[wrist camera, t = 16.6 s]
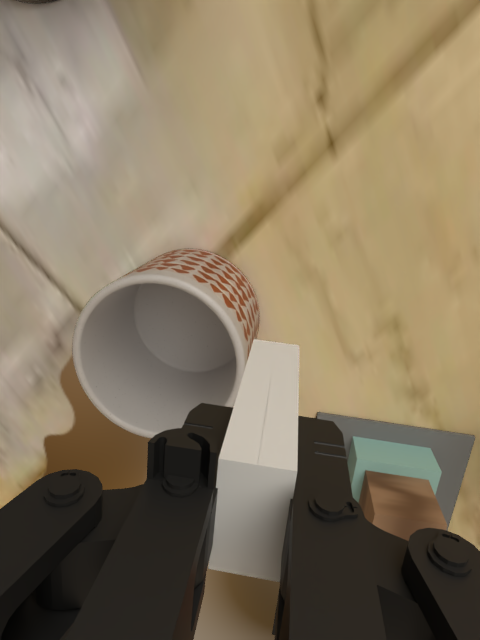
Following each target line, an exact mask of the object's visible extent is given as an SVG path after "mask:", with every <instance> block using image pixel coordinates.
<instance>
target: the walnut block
mask: <svg viewBox="0 0 480 640" xmlns="http://www.w3.org/2000/svg"><path fill="white" fill-rule="evenodd" d="M359 504H360V506H361V508H362V511H363V513H364V516H365V518H366V519H367V520H368V521H369V522H371V523H372V524H373V525H375V526H376V527H378V528H380V529H382V530H384V531H386V532H388V533H390V534H393V535H395V536H398V537H400V538H402V539H405V540H407V541H409V538H410V535H412V534H413V533H414V532H415V531H416V530H418V529H424V528H436V529H443V530H446V529H447V523H446V521H445V518H444V516H443V514H442V511H441V509H440V506H439V504H438V502H437V499H436V497H435V494H434V492H433V489H432V487H431V485H430V482H429V480H426V479H420V478H413V477H407V476H400V475H394V474H387V473H381V472H375V471H368V470H365V475H364V480H363V484H362V489H361V494H360V499H359Z"/></svg>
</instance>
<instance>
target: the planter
mask: <svg viewBox="0 0 480 640" xmlns="http://www.w3.org/2000/svg"><path fill="white" fill-rule="evenodd" d="M259 321H260V315H259V306H258V302H257V298H256V295H255V293H254V290H253V288H252V286H251V285H250V283H249V281H248V280H247V278H246V277H245V276H244V275H243V273H242V272H241V271H240V270H239V269H238V268H237V267H236V266H234V265H233V264H232V263H231V262H229V261H228V260H226V259H224V258H223V257H221V256H219V255H216V254H214V253H211V252H208V251H204V250H199V249H180V250H174V251H171V252H167V253H165V254H163V255H160V256H158V257H156V258H155V259H153V260H151V261H149V262H148V263H146V264H144V265H142V266H140V267H139V268H137V269H135V270H133V271H131V272H130V273H128V274H126V275H124V276H122V277H121V278H119V279H117V280H115V281H113V282H112V283H110V284H108V285H107V286H105V287H104V288H102V289H101V290H100V291H98V292H97V293H96V294H95V295H94V296H93V297H92V298H91V299H90V300H89V301H88V303H87V304H86V305H85V307H84V308H83V310H82V312H81V313H80V316H79V318H78V320H77V323H76V326H75V329H74V334H73V342H72V354H73V362H74V367H75V370H76V374H77V377H78V379H79V382H80V384H81V386H82V388H83V390H84V391H85V393H86V395H87V396H88V398H89V399H90V401H91V402H92V403H93V405H95V407H96V408H97V409H98V410H99V411H100V412H101V413H102V414H103V415H104V416H105V417H106V418H108V419H109V420H110V421H112V422H113V423H115V424H116V425H118V426H120V427H121V428H123V429H125V430H127V431H129V432H131V433H134V434H136V435H139V436H143V437H146V438H151V439H152V438H153V437H154V436H155V435H156V434H158V433H161V432H163V431H165V430H170V429H176V428H182V426H183V425H184V422H185V420H186V418H187V415H188V413H189V411H191V410H192V409H193V408H195V407H196V406H198V405H199V404H201V403H206V404H213V405H219V406H226V407H233V406H234V404H235V401H236V398H237V394H238V391H239V388H240V384H241V381H242V377H243V374H244V371H245V367H246V364H247V360H248V357H249V354H250V350H251V347H252V343H253V340H254V339H256V338H257V334H258V329H259Z"/></svg>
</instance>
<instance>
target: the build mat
mask: <svg viewBox="0 0 480 640" xmlns="http://www.w3.org/2000/svg"><path fill="white" fill-rule="evenodd" d="M316 419H322V420H329V421H333V422H334V423H335V424H336V425H337V427H338V428H339V429H340V430H341V432H342V433H343V438H344V444H345V447H344V448H345V451H346V459H347V462H348V457H349V453H350V448H351V443H352V438H353V436H355V437H361V438H368V439H374V440H381V441H387V442H394V443H400V444H407V445H413V446H420V447H426V448H431V450H432V452H433V455H434V457H435V459H436V461H437V463H438V465H439V467H440V469H441V471H442V473H441V477H440V480H439V484H438V487H437V491H436V494H435V497H436V499H437V502H438V504H439V506H440V509H441V511H442V514H443V516H444V518H445V521H446V523H447V529H446V531H447V530H448V526H449V523H450V520H451V516H452V513H453V510H454V506H455V503H456V500H457V497H458V493H459V490H460V487H461V483H462V480H463V477H464V473H465V470H466V467H467V463H468V460H469V457H470V454H471V450H472V447H473V444H474V440H475V436H474V435H468V434H461V433H455V432H448V431H441V430H434V429H428V428H421V427H414V426H408V425H401V424H394V423H388V422H381V421H374V420H368V419H361V418H354V417H347V416H341V415H334V414H327V413H321V412H317V418H316Z"/></svg>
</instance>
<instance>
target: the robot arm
mask: <svg viewBox="0 0 480 640" xmlns="http://www.w3.org/2000/svg"><path fill="white" fill-rule="evenodd" d="M17 1H20V2H25V3H48V2H52V1H56V0H17ZM298 401H299V345H294V344H286V343H279V342H272V341H264V340H257V339H254V340H253V343H252V347H251V350H250V354H249V357H248V360H247V364H246V367H245V371H244V374H243V377H242V381H241V384H240V388H239V391H238V394H237V398H236V401H235V404H234V408H233V407H226V406H219V405H213V404H206V403H201V404H199V405H198V406H196V407H195V408H193V409H192V410H191V411H189V413H188V415H187V418H186V420H185V422H184V425H183V426H182V428H176V429H170V430H165V431H163V432H161V433H158V434H156V435H155V436H154V437H153V438H152V439H151V440H150V441H149V442H148V463H147V480H146V481H145V483H144V484H143V485H139V486H136V487H132V488H125V489H112V490H102V484H101V482H100V480H99V478H98V477H96V476H95V475H93V474H91V473H90V472H87V471H82V470H77V469H75V470H62V471H58V472H55V473H52V474H48V475H46V476H45V477H43V478H41V479H39V480H38V481H36V482H35V483H33V484H32V485H31V486H30V487H28V488H27V489H26V490H24V491H23V492H22V493H20V494H19V495H18V496H17V497H15V498H14V499H13V500H11V501H10V502H9V503H7V504H6V505H5V506H4V507H2V508H1V509H0V640H193V639H194V634H195V630H196V625H197V621H198V617H199V612H200V608H201V604H202V600H203V595H204V588H205V578H206V571H207V566H208V562H209V567H208V568H209V569H213V570H218V571H223V572H229V573H234V574H240V575H245V576H250V577H256V578H261V579H267V580H272V581H277V582H280V589H279V595H278V601H277V607H276V613H275V619H274V626H273V632H272V634H273V635H275V640H480V551H479V550H478V549H477V548H476V547H475V546H474V545H473V544H471V543H470V542H468V541H466V540H465V539H463V538H462V537H460V536H459V535H456V534H454V533H451V532H449V531H446V530H443V529H436V528H424V529H418V530H416V531H415V532H414V533H413V534H412V535H410V538H409V541H407V540H405V539H402V538H400V537H398V536H395V535H393V534H390V533H388V532H386V531H384V530H382V529H380V528H378V527H376V526H375V525H373V524H372V523H371V522H369V521H368V520H367V519H366V518H365V516H364V513H363V511H362V508H361V506H360V504H359V503H358V502H357V501H356V500H355V499H354V498H353V495H352V489H351V483H350V476H349V470H348V464H347V459H346V451H345V448H344V447H345V444H344V438H343V433H342V432H341V430H340V429H339V428H338V427H337V425H336V424H335V423H334V422H333V421H329V420H322V419H315V418H309V417H302V416H298Z"/></svg>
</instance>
